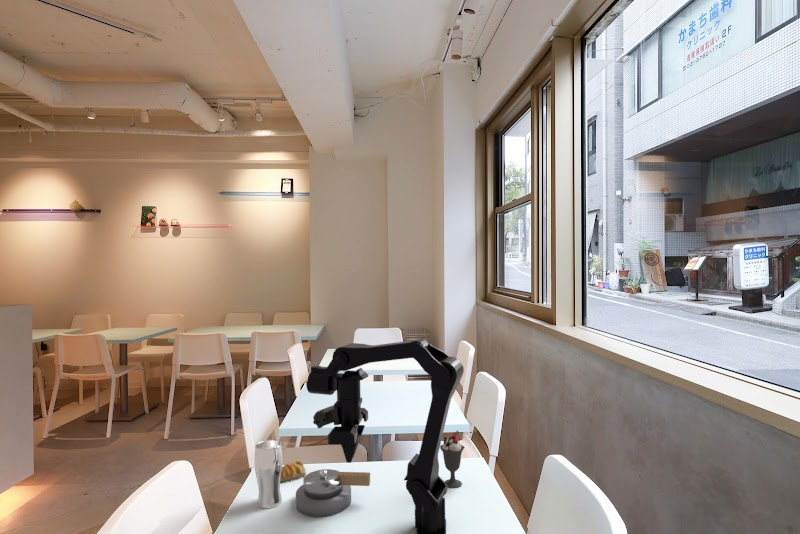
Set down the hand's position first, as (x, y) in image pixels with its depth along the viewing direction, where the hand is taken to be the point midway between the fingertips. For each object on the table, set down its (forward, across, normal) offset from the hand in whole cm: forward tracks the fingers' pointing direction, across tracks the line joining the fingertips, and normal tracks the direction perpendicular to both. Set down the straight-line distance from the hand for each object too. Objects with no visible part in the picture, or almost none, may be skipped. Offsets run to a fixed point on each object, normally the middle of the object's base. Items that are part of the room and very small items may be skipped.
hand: (350, 460), depth 114 cm
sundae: (+13, -17, +25) cm, 33 cm away
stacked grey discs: (+13, -5, -8) cm, 16 cm away
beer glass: (+13, -4, -22) cm, 26 cm away
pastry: (+14, -18, -22) cm, 32 cm away
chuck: (+10, -5, -5) cm, 12 cm away
